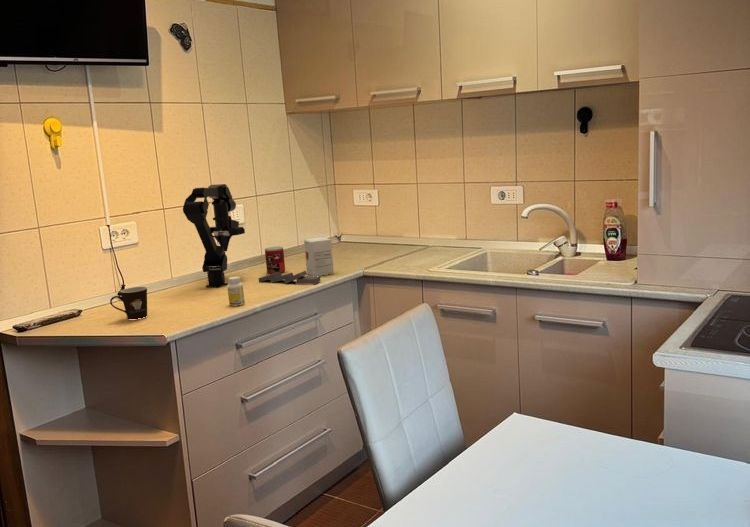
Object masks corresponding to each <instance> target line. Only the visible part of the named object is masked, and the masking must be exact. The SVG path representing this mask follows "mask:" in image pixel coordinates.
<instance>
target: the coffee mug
mask: <svg viewBox="0 0 750 527" xmlns="http://www.w3.org/2000/svg"><path fill="white" fill-rule="evenodd" d="M120 294H121V295H120V296H119V295H115V296H112V297H111V298H110V300H109V304H110V305H111V306H112V307H113V308H114V309H116V310H119V311H120V312H122V313H125V315H126V318H127V320H128V319H138V318H143V317H146V316H147V317H148V287H146V286H134V287H133V286H132V287H128V288H124V289H121V290H120ZM116 298H118V299H119V300H120V301H121V302H123V306H124V310H123V309H122V308H119V307H117V306H115V305H114V304H113V300H114V299H116Z"/></svg>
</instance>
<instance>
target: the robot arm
mask: <svg viewBox="0 0 750 527" xmlns="http://www.w3.org/2000/svg"><path fill="white" fill-rule="evenodd" d="M208 198H210V199H212V200H213V201H212V202H211V205H212V206H213V214H214V215H213V216H214V217H212V221H214V224H215V226H210V225H209V222H208V220H207V215H208V210H209V206H210V203H209V201H208ZM197 199H203V200H201V201H196V200H197ZM236 207H237V204H236V201H235V200H234V199H233V195H232V193H231V190H230V188H229V187H228V186H227V184H226V183H221V184H219V183H218V184H210V185H208V187H194V188H193V189H192V191H191V194H189V195H188V196H187V197H186V199H185V200H184V203H183V206H182V212H183V214H184V216H185V217H186V219H187V221H189V222H190V223H192V224H193V225H194V227H195V229H196V231H197V234H198V236H199V238H200V240H201V242H202V243H201V244H202V245H203V247H204V251H205V254H204V257H203V258H204V259H203V263H202V264H203V265H202V271H203V273H206V274H207V275H206V276H207V281H208V284H207V285H205V287H206V288H220V287H223V286H226V285H227V286H228V284H229V282H226V278H225V271H227V270H228V256H227V254H226V252H228V249H229V243H230V240H231V238H232V237H233V236H240V235H243V234H245V233H246V232H245V231H246V230H245V228H244V226H240V221H238V220H235V219H232V215H230V214H229V213H230V212H233V211H234V210H236V209H237V208H236ZM216 241H217V242H216ZM217 243H218V244H219V245H217Z"/></svg>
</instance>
